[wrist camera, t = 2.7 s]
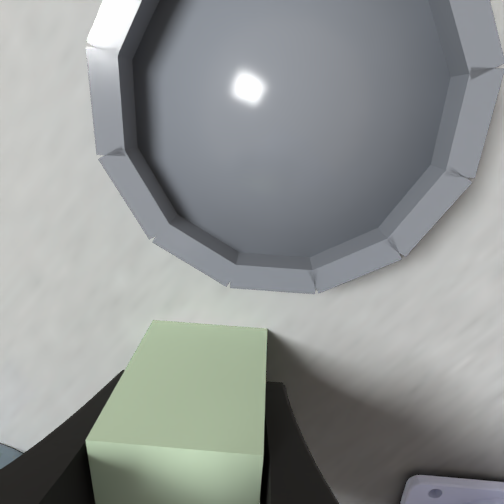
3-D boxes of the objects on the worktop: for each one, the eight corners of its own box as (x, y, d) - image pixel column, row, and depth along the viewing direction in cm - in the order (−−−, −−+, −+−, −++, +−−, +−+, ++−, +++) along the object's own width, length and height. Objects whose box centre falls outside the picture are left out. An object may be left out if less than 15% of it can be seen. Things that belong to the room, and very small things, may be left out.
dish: (501, -90, 8) (563, -143, 6) (414, 273, 12) (440, 303, 10) (107, -105, 9) (64, -159, 7) (133, 253, 12) (109, 279, 10)
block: (267, 328, 13) (263, 455, 8) (260, 416, 14) (253, 566, 10) (153, 319, 13) (85, 440, 8) (158, 407, 14) (103, 551, 10)
